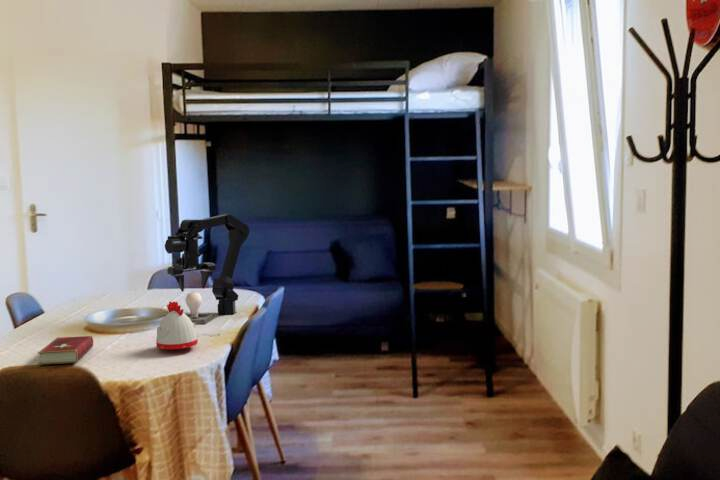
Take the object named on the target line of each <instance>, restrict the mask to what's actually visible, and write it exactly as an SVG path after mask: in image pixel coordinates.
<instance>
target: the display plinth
mask: <svg viewBox="0 0 720 480" xmlns="http://www.w3.org/2000/svg"><path fill="white" fill-rule="evenodd" d="M185 314H186V315H187V316H188V317H189V319H190V320H191V321H192V323H195V325H207V324H208V323H210V322H211V321H214V319H216V318H218V314H217V315H216V314H215V313H198V318H196V319H193V318H191V313H185Z"/></svg>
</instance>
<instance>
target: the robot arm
mask: <svg viewBox="0 0 720 480" xmlns="http://www.w3.org/2000/svg"><path fill="white" fill-rule="evenodd" d="M219 226H223V227H224V228H225V230H227V231H228V236H227V237H228V240H229V245H228V249H227V250H226V251H227V252H226V256H225V258H224V262H223V265H222V266H223V267H222V268H221V273H220V275H219V276H218V277H215V278H213V283H212V286H211V288H212V289H211V292H212V294H213V296H214V298H215V300H216V301H218V304H217V316H233V315H235V314H237V313H238V311H236V310H237V309H236V308H237V307H236V301H239V294H238V293H237V292H235V290H234V286H235V285H234V279H233V276H234V273H235V269H236V266H237V262H238V259H239V256H240V255H239V254H240V252H241V248H242V245H243V244H244V243H246V241H247V240H248V237H249V235H250V227H249V226H248V224H247V223H245V222H242V221H241V220H239V219H237V217H235V216H233V215H232V214H231V213H221V214H220V215H215V216H210V217H206V218H202V219H183V220H181V222H180V225H179V227H178V229H177V231H176V233H175V235H168V236H167V239H166V240H165V243H164V249H165V251H166V254H171V255H172V254H179V253H182V254H181V257H179V256H174V257H172V262H173V263H172V264H173V265H172V266H168V268H167V275H170V276H171V277H174V278H175V280H176V282H177V283H178V286H179V289H180V291H181V292H184V291H185V274H183V273H185V272H192V271H199V272H200V274H201V277H200V278H201V289H203V290H204V289H205V287H206V285H207V282H208V280H209V278H210V276H211V274H212V273H214V271H216V270H217V266H216V264H215V263H214V262H201V263H200V257H201V253H200V252H199V240H202V239H203V236H201V234H199V233H202V232H203V231H204V230H206V229H208V228H209V229H210V228H213V227H219Z"/></svg>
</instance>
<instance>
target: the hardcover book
mask: <svg viewBox="0 0 720 480" xmlns="http://www.w3.org/2000/svg"><path fill="white" fill-rule="evenodd" d="M93 347H94V337H93V335H79V336H63V337H56V338H54V340H52V341H51V342H50V343H48V344H47V345H46V346H44V347H43V348H42V349H40V350H39V351H38V352H37V353H38V355H39V359H40V360H39V361H40V362H39V363H38V365H39V364H42V365H57V364H58V365H59V364H70V363H71V364H72V363H78V362H79V361H80V360H81V359H82V358H83V356H85V355H86V354H87V353H88V352H89V351H90V350H91V349H92V348H93Z"/></svg>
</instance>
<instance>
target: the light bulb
mask: <svg viewBox="0 0 720 480" xmlns="http://www.w3.org/2000/svg"><path fill="white" fill-rule="evenodd" d="M185 303H186V306H187V307H188V309H189V314H191V318H193V319H196V318H198V314H199V311H200V307H201V305H202V303H203V298H202V295H201V294H200V293H198V292H196V291H192V292H189V293H188V294H187V295H186V296H185Z"/></svg>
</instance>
